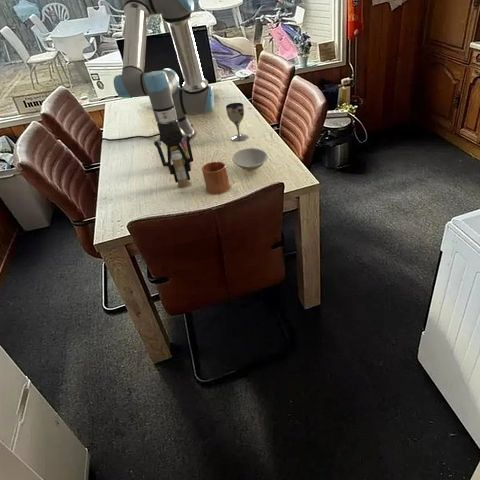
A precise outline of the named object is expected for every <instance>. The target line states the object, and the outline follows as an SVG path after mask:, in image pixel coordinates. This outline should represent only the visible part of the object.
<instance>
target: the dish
mask: <svg viewBox="0 0 480 480" xmlns="http://www.w3.org/2000/svg"><path fill="white" fill-rule="evenodd" d="M231 160H232V162H233V164H234V165H236V166H237V167H239V168H240V169H242V170H245V171H254V170H257V169H259V168H260V167H262V166H263V165H264V164H265V162H267V160H268V154H267V152H266V151H265V150H263V149H260V148H255V147H250V148H243V149H240V150H238V151H236V152H235V153H234V154H233V156H232V157H231Z"/></svg>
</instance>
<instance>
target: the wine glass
mask: <svg viewBox="0 0 480 480" xmlns="http://www.w3.org/2000/svg"><path fill="white" fill-rule="evenodd" d="M225 110H226V114H227V117H228V119H229V121H230V122H231V123H232V124H234V126H235V128H236V131H237V135H234V136H232V137H231V140H232V141H233V142H241V141H244V140H247V136H246V135H245V134H240V124H241V123H242V121H243V119H244V116H245V108H244V104H243V102H231V103H228V104H227V105H225Z"/></svg>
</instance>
